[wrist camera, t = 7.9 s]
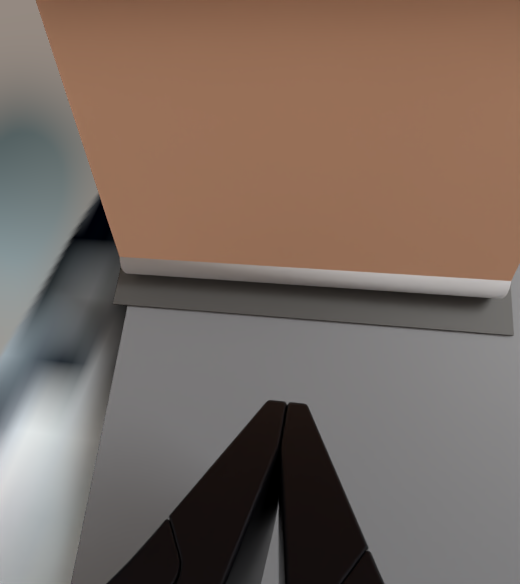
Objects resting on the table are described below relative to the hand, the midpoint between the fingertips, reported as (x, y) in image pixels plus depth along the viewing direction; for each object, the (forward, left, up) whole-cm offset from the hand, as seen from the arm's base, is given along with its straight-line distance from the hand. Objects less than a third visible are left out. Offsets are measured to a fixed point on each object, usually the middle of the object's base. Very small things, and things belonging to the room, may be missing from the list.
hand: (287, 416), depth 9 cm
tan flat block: (+4, 0, -4) cm, 6 cm away
